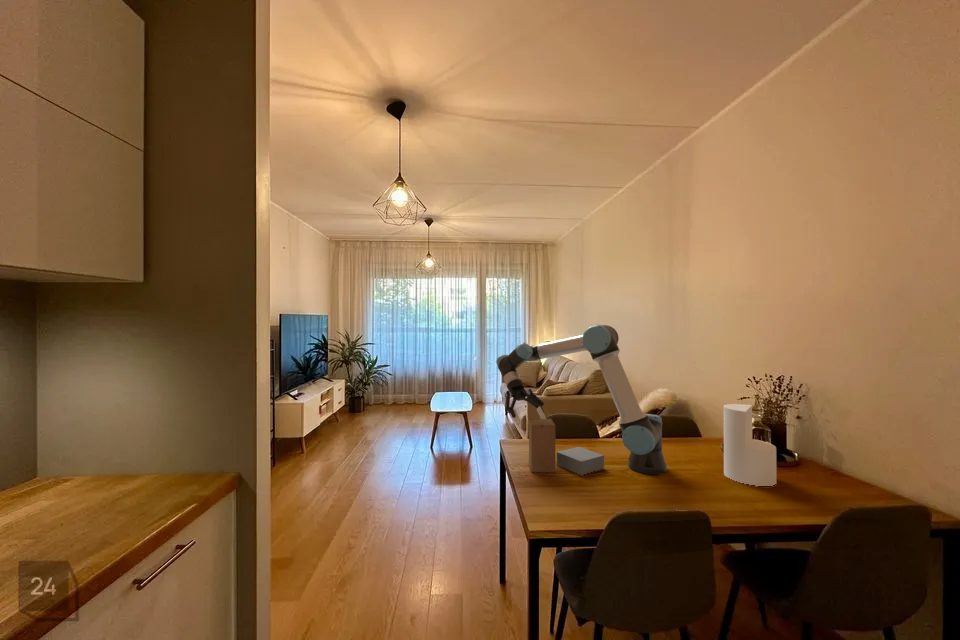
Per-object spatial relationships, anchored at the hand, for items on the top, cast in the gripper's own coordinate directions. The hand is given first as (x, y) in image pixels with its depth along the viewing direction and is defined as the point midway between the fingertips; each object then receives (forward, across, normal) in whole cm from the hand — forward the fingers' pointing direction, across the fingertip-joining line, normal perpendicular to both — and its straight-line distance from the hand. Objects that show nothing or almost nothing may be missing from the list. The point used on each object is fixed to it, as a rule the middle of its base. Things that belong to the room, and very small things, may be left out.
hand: (531, 421), depth 166 cm
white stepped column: (+50, -70, +24) cm, 89 cm away
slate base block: (+22, -17, -4) cm, 28 cm away
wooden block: (+18, -1, -9) cm, 20 cm away
